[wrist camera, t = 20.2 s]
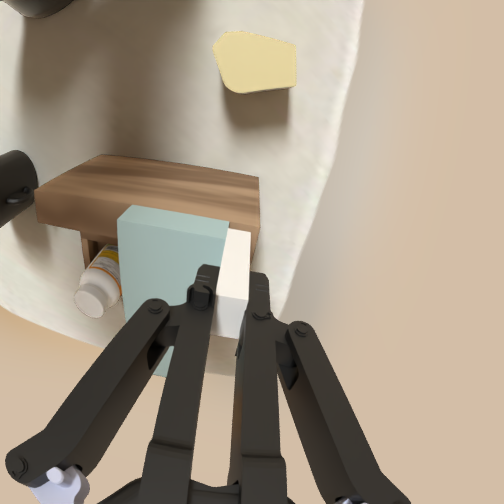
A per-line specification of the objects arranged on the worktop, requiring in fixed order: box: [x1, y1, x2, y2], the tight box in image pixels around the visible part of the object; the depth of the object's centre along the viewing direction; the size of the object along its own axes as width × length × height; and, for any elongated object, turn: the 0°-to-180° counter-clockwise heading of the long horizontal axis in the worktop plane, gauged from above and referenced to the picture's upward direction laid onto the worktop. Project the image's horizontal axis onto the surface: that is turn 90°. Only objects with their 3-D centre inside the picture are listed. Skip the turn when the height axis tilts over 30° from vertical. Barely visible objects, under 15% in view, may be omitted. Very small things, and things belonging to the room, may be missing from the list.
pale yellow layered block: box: [213, 31, 296, 94], centre depth 21 cm, size 10×9×6 cm
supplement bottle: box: [74, 244, 122, 318], centre depth 30 cm, size 5×5×10 cm
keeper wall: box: [34, 155, 260, 264], centre depth 24 cm, size 3×19×12 cm, turn 78°
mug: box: [0, 150, 37, 228], centre depth 25 cm, size 9×12×9 cm
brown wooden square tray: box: [80, 231, 122, 296], centre depth 33 cm, size 10×10×3 cm
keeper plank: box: [117, 205, 229, 377], centre depth 21 cm, size 16×7×2 cm, turn 168°
